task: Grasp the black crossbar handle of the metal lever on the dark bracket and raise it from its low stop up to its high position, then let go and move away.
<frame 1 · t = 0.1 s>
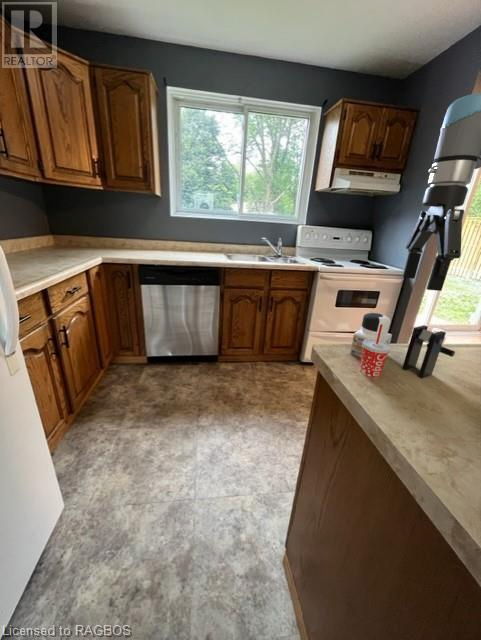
hand: (419, 283, 66), 23 cm above the countertop, tool pointing down, fingers open, 13 cm apart
container: (367, 359, 77), on the countertop
beverage cup: (368, 377, 67), on the countertop
bracket: (415, 376, 68), on the countertop
lever: (433, 342, 67), point 9 cm above the countertop, hinge at -30.0°
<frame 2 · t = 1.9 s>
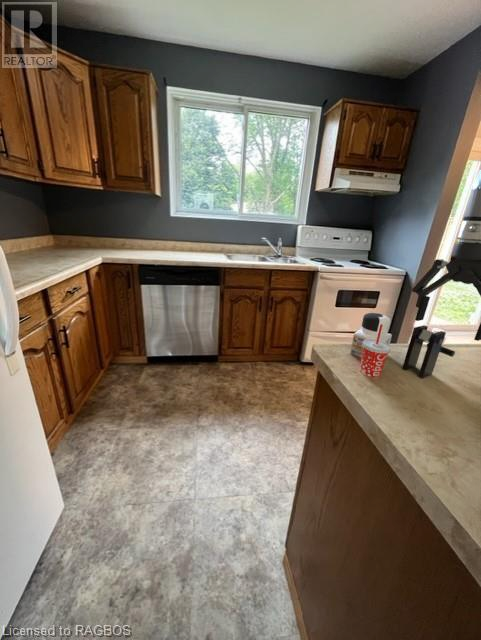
hand: (446, 329, 68), 12 cm above the countertop, tool pointing down, fingers open, 13 cm apart
nothing on the countertop moved.
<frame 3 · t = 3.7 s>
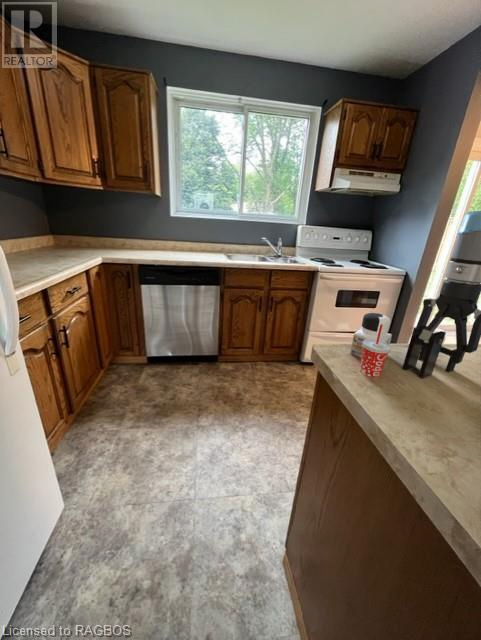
hand: (434, 366, 72), 1 cm above the countertop, tool pointing down, fingers closed on lever, 6 cm apart
lever: (433, 342, 67), point 9 cm above the countertop, hinge at -30.0°, touching gripper
everything else where it was.
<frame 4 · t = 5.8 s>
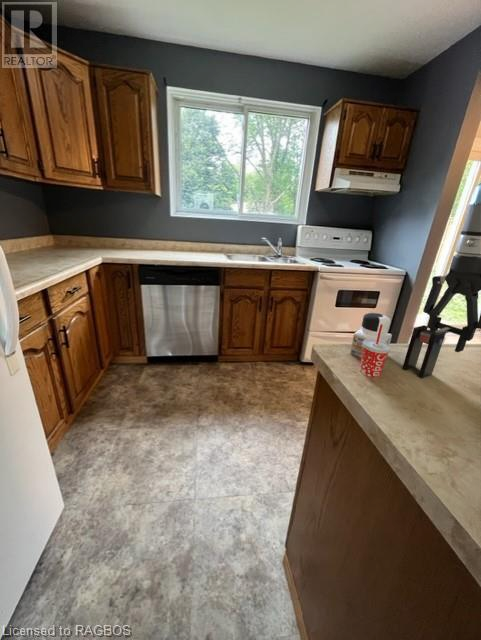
hand: (444, 345, 71), 7 cm above the countertop, tool pointing down, fingers closed on lever, 6 cm apart
lever: (438, 333, 67), point 11 cm above the countertop, hinge at 3.0°, touching gripper
everything else where it was.
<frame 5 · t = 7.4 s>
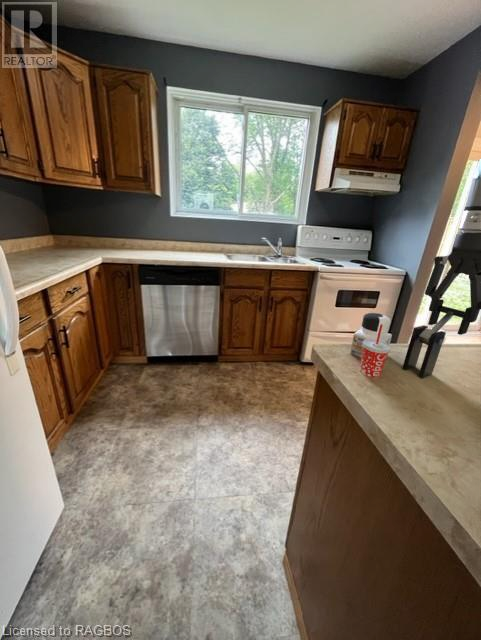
hand: (446, 328, 68), 12 cm above the countertop, tool pointing down, fingers closed on lever, 6 cm apart
lever: (439, 324, 66), point 13 cm above the countertop, hinge at 31.9°, touching gripper
everything else where it was.
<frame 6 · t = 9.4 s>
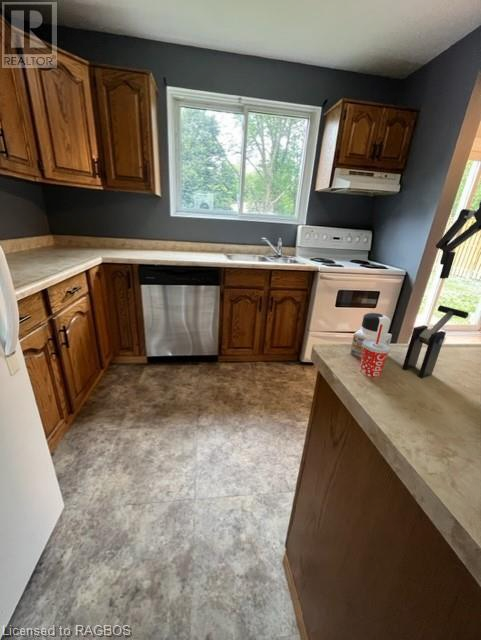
hand: (475, 283, 64), 24 cm above the countertop, tool pointing down, fingers open, 13 cm apart
lever: (439, 324, 66), point 13 cm above the countertop, hinge at 32.1°
everything else where it was.
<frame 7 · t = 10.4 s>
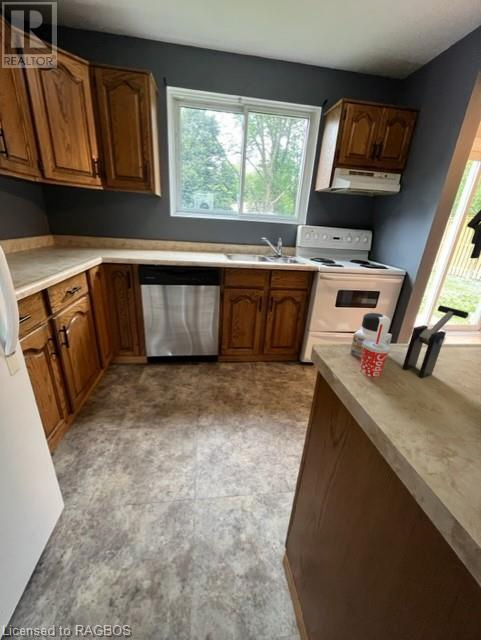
nothing on the countertop moved.
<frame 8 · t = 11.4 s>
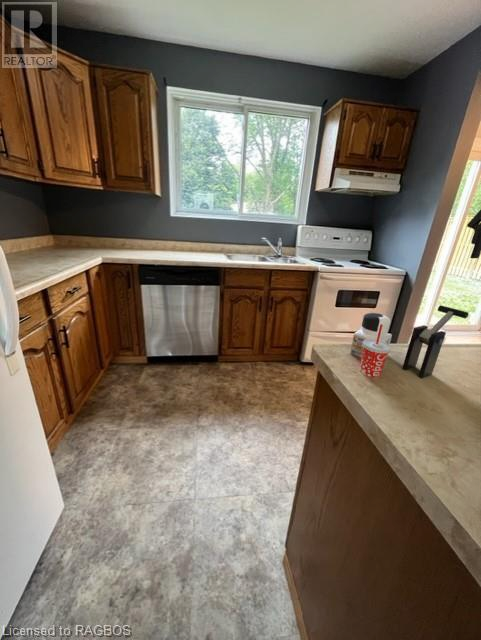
nothing on the countertop moved.
at the end: lever at +32° (first picture: -30°); lever reached +32° during the clip, +32° at the end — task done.
